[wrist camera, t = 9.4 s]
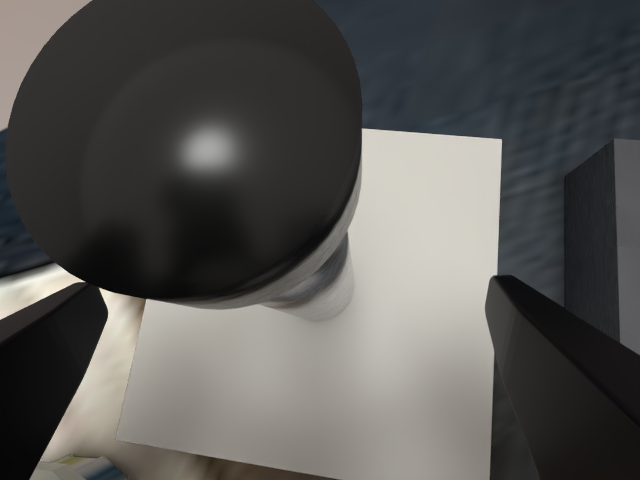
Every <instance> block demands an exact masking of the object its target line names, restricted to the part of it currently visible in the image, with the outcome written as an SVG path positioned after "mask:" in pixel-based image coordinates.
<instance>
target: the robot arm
mask: <svg viewBox="0 0 640 480" xmlns="http://www.w3.org/2000/svg"><path fill="white" fill-rule="evenodd" d="M485 316H486V320H487V324H488V328H489V332H490V336H491V340H492V344H493V348H494V351H495V355H496V359H497V363H498V367H499V371H500V374H501V378H502V381H503V384H504V386H505V389H506V392H507V394H508V397H509V399H510V402H511V405H512V407H513V410H514V412H515V415H516V418H517V420H518V423H519V425H520V428H521V431H522V433H523V436H524V438H525V441H526V444H527V446H528V449H529V451H530V454H531V456H532V459H533V462H534V464H535V467H536V469H537V472H538V475H539V477H540V480H640V355H639V354H637V353H636V352H634V351H632V350H631V349H629V348H628V347H626V346H624V345H623V344H621V343H620V342H618V341H616V340H615V339H613V338H612V337H610V336H608V335H607V334H605V333H604V332H602V331H600V330H599V329H597V328H596V327H594V326H592V325H591V324H589V323H588V322H586V321H584V320H583V319H581V318H580V317H578V316H576V315H575V314H573V313H572V312H570V311H568V310H567V309H565V308H564V307H562V306H560V305H559V304H557V303H556V302H554V301H552V300H551V299H549V298H548V297H546V296H544V295H543V294H541V293H540V292H538V291H536V290H535V289H533V288H532V287H530V286H528V285H527V284H525V283H524V282H522V281H520V280H519V279H517V278H516V277H514V276H512V275H493V276H492V277H491V278H490V280H489V285H488V290H487V296H486V302H485ZM107 318H108V309H107V306H106V304H105V302H104V299H103V297H102V295H101V292H100V290H99V288H98V287H96V286H94V285H91V284H89V283H87V282H78V283H74V284H72V285H70V286H68V287H66V288H64V289H62V290H60V291H58V292H56V293H54V294H52V295H50V296H48V297H46V298H44V299H42V300H40V301H38V302H36V303H34V304H32V305H30V306H28V307H26V308H23V309H21V310H19V311H17V312H15V313H13V314H11V315H9V316H7V317H5V318H3V319H1V320H0V480H30V478H31V476H32V474H33V472H34V470H35V469H36V467H37V465H38V463H39V461H40V459H41V457H42V455H43V453H44V451H45V450H46V448H47V446H48V444H49V442H50V440H51V438H52V436H53V434H54V433H55V431H56V429H57V427H58V425H59V423H60V421H61V419H62V417H63V416H64V414H65V412H66V410H67V408H68V406H69V404H70V402H71V400H72V399H73V397H74V395H75V393H76V391H77V389H78V387H79V385H80V383H81V381H82V379H83V377H84V375H85V373H86V371H87V368H88V366H89V363H90V361H91V359H92V356H93V354H94V351H95V349H96V346H97V344H98V341H99V339H100V336H101V334H102V331H103V329H104V326H105V324H106V321H107Z"/></svg>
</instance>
